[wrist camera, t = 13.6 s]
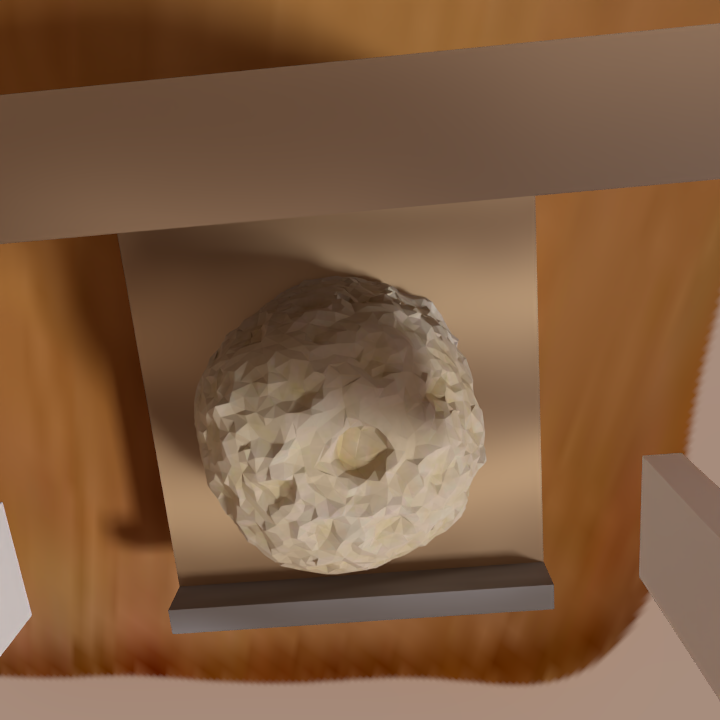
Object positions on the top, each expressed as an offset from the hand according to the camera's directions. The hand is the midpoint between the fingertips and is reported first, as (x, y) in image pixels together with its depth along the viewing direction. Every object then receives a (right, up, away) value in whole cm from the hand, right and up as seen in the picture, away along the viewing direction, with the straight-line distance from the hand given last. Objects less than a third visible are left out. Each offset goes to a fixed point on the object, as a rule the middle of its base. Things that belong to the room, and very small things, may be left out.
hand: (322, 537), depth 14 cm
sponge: (0, +2, +10) cm, 11 cm away
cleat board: (0, +3, +13) cm, 13 cm away
